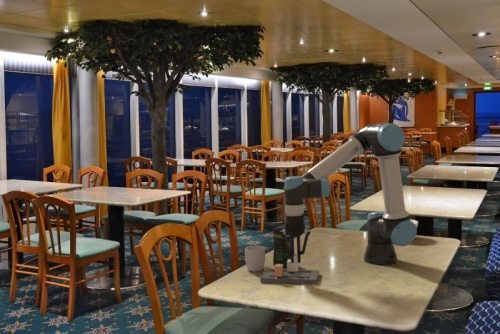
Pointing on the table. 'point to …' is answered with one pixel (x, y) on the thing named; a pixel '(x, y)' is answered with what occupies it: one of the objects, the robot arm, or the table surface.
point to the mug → (255, 258)
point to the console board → (290, 277)
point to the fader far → (290, 266)
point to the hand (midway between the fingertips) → (296, 270)
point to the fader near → (278, 270)
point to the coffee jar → (280, 247)
